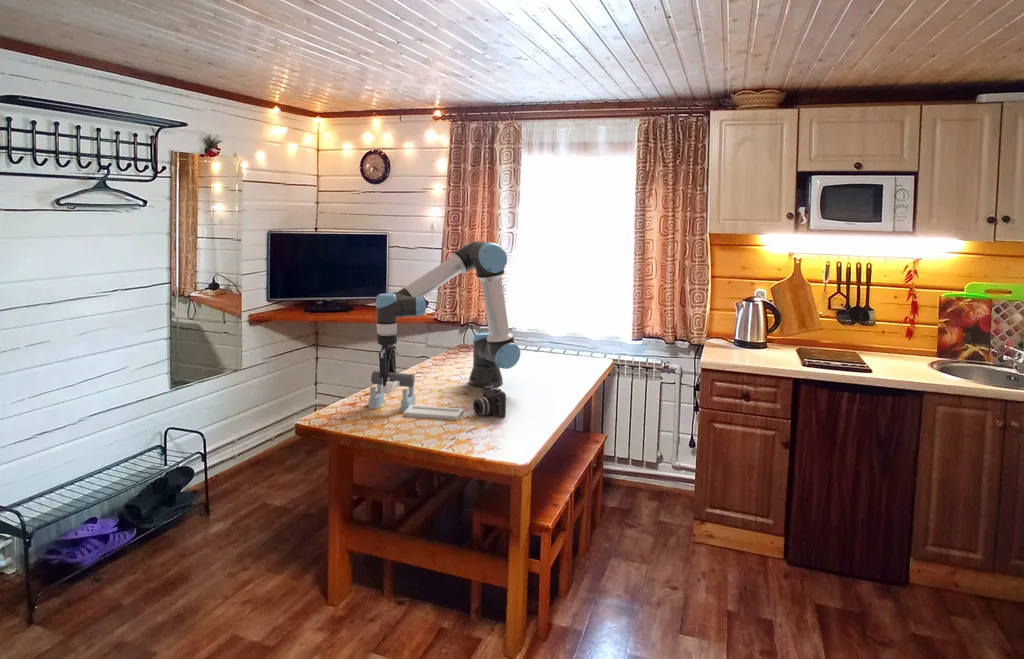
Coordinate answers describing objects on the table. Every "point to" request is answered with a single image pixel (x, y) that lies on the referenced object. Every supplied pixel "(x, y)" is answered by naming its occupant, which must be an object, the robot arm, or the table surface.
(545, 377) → the table surface
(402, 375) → the gray cylinder
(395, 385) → the white l-shaped hook
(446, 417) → the tray
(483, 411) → the camera
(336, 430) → the table surface
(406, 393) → the cradle
